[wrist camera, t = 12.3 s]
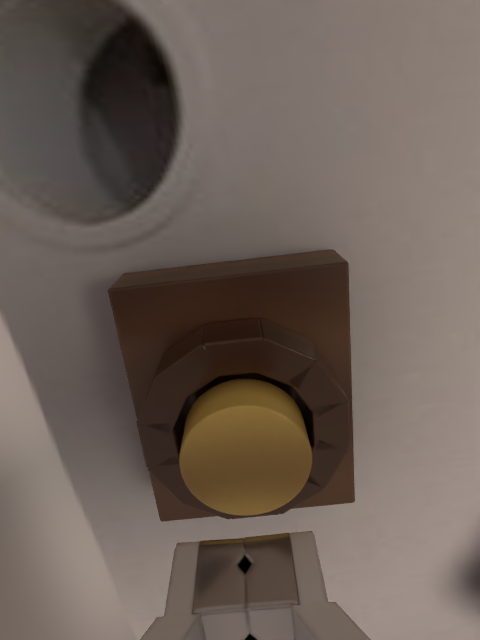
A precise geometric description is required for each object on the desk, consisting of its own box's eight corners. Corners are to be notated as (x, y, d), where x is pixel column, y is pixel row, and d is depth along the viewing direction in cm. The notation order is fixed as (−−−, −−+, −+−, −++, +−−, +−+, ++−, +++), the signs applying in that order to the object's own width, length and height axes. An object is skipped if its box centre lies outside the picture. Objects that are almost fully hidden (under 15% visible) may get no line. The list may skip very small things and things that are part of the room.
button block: (122, 273, 16) (89, 306, 13) (334, 248, 16) (364, 275, 12) (167, 484, 20) (152, 560, 16) (342, 467, 20) (368, 540, 16)
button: (175, 384, 14) (168, 414, 12) (300, 371, 14) (308, 399, 12) (194, 484, 15) (189, 522, 14) (307, 472, 15) (316, 510, 14)
